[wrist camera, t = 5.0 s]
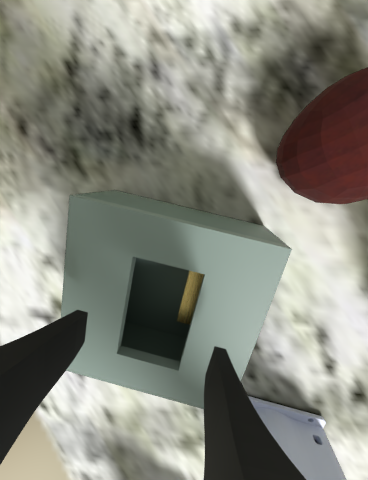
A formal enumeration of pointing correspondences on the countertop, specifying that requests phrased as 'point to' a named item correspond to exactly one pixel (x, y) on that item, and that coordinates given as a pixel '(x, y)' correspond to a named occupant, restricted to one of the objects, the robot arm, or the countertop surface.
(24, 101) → the countertop surface
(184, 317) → the gold rectangular block
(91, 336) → the box
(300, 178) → the potato
